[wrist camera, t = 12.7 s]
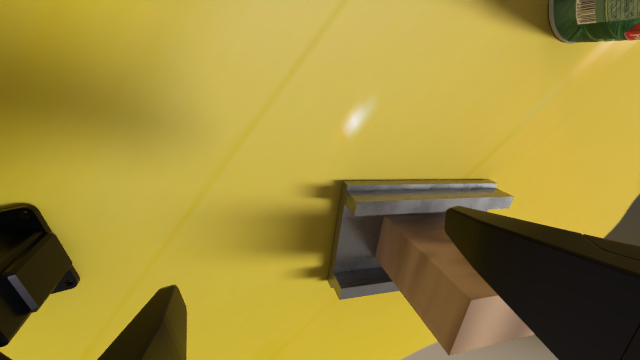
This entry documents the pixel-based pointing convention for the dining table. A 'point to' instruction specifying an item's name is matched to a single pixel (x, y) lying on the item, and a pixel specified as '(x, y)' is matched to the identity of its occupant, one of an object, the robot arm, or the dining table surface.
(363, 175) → the dining table surface
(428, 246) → the brown wooden block
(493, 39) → the dining table surface
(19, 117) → the dining table surface
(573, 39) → the canned tomato
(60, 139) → the dining table surface
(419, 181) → the door track
